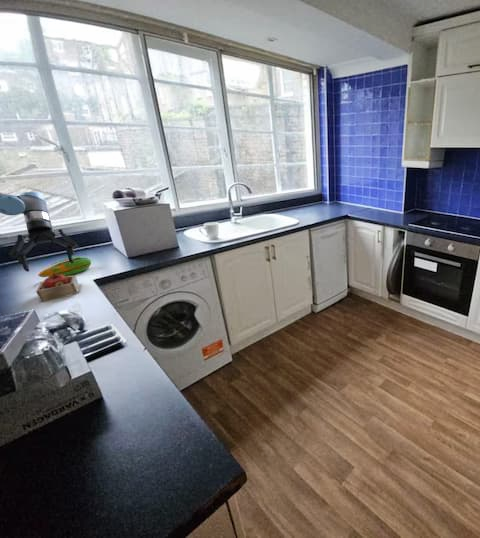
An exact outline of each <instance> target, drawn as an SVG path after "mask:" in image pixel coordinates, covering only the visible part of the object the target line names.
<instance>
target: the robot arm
mask: <svg viewBox="0 0 480 538" xmlns="http://www.w3.org/2000/svg"><path fill="white" fill-rule="evenodd" d="M47 204H48V203H47V202H46V200H45V197H44V196H43V195H42V194H41V193H39V192H35V191H25V192H22V193H20V194H19V195H15V194H7V193H4V192H0V214H2V215H5V216H18V215H20V214H22V215H23V217H24V222H25V224H26V226H25V227H26V230H27V234H26V235H22V234H18V235H17V240H16V242H15V243H14V245H13V247H12V248H11V250H10V252H9V256H10V257H11V258H12V259H17V262H18V263H19V264H20V265H22V268H23V270H24V271H25V272H30V268H29V264H28V259H27V257H26V255H27V254H29V252H30V251H31V250H32V249H33V248H34V247H36V246H37V245H38V244H39V245H41V244H47V243H50V242H52V243H54V244H58V245H60V246H62V247H64V248H65V250H66V254H67V259H68V258H69V260H68V261H70V262H71V263H73V259H72V257H73V256H75V251H74V249H75V248H79V245H78V244H77V242H75V241H74V240H73V239H72V238H70V237H69V236H68V235H67V234H65V231H64V230H63V229H62V228H58V230H56V231H54V228H53V225H52V222H51V218H50V214H49V210H48V206H47ZM56 236H59V237H62V238H63V239H64V240H65V241H64V240H61V239H59V238H57V237H56ZM25 242H27V243H25Z"/></svg>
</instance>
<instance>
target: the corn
mask: <svg viewBox="0 0 480 538" xmlns="http://www.w3.org/2000/svg"><path fill="white" fill-rule="evenodd" d="M72 259H73V263H71V262H70V261H69V258H68V257H67V258H65V259H61V260H58V261H56V262H53V263H51V264H50V265H52V266H50V267H47V268H45V269H44V270H42V271H40V272H39V273H38V277H40V278H48V277H50V276H52V275H53V274H52V273H53V271H52V268H53V267H59V268H60V270H58V271H57V272H55V275H64V276H65V277H68V276H73V275H75V274H78V273H81V272H84V271H86V270H87V269H88V268H90V267H91V265H92V260H91V259H90V258H88V257H85V256H72Z"/></svg>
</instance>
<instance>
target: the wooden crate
mask: <svg viewBox="0 0 480 538" xmlns="http://www.w3.org/2000/svg"><path fill="white" fill-rule="evenodd" d="M65 277H66V278H67V284H65V285H60V286H56V287H51V288H47V287H46V286H45V285H44V281H41V282H40V283H39V285H37V289H36V291H35V292H36V295H37V296H38V298H39V300H40V302H41V303H43V302H47V301H51V300H55V299H59V298H63V297H67V296H71V295H76V294H78V293H79V289H80V282H79V281H78V279H77V277H76V275H75V274H72V275H69V276H65Z"/></svg>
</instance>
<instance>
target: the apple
mask: <svg viewBox="0 0 480 538" xmlns="http://www.w3.org/2000/svg"><path fill="white" fill-rule="evenodd" d="M58 270H60V268H59V267H53V268H52V271H53V273H52V274H53V275H52V276H50V277H45V279H44V281H43V282H44V285H45V286H46V287H47V288H51V287H56V286H60V285H65V284H67V278H66V277H67V276H64V275H55V272H57V271H58Z"/></svg>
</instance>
